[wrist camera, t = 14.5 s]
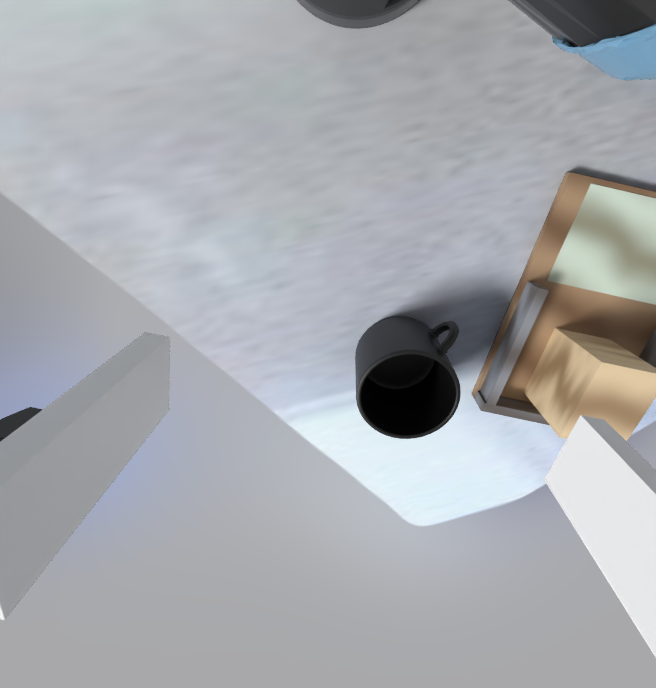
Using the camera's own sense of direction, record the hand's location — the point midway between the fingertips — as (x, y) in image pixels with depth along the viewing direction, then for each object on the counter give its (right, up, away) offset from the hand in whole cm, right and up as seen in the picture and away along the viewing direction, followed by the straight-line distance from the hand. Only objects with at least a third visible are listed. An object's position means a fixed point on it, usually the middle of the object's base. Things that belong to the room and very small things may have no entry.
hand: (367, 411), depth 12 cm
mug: (+7, +2, +30) cm, 31 cm away
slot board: (+26, +5, +27) cm, 38 cm away
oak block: (+24, 0, +29) cm, 38 cm away
